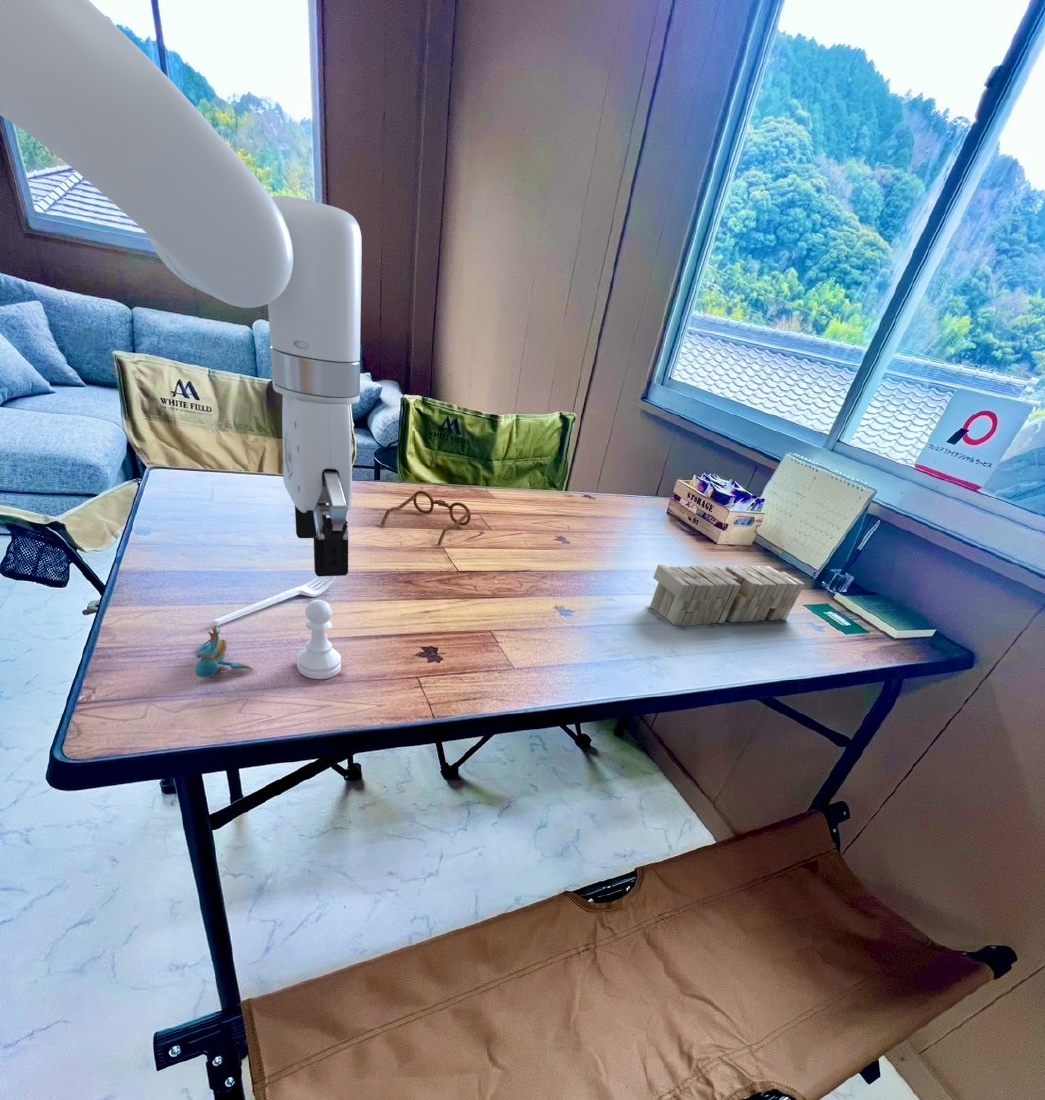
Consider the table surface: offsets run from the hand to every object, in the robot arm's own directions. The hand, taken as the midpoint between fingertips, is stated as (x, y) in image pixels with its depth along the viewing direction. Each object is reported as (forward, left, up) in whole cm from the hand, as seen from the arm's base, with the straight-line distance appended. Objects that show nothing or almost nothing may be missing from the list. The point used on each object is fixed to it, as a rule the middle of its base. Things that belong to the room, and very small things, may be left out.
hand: (321, 555), depth 63 cm
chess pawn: (0, 0, -15) cm, 15 cm away
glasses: (+30, +46, -15) cm, 57 cm away
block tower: (+72, +5, -15) cm, 73 cm away
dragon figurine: (-11, +3, -15) cm, 19 cm away
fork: (-2, +17, -15) cm, 23 cm away
